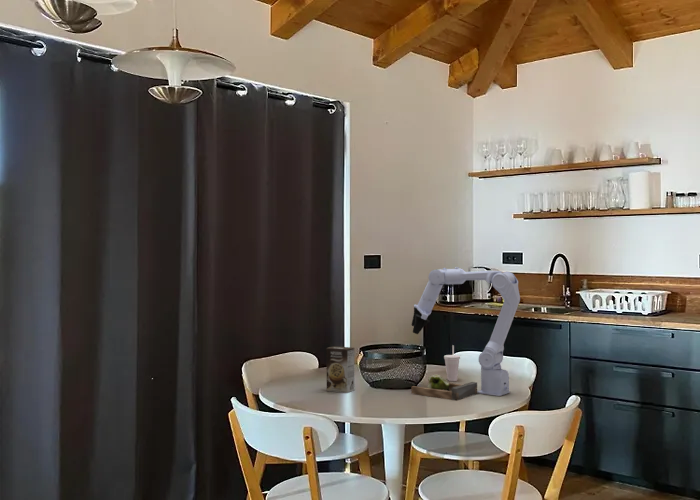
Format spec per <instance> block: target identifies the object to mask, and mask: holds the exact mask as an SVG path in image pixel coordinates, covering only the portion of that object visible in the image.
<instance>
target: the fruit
mask: <svg viewBox="0 0 700 500" xmlns="http://www.w3.org/2000/svg"><path fill="white" fill-rule="evenodd" d="M427 380H428V383H427V385H426V388H431V389H438V390H443V389H444V390H445V391H450V390H449V383H450V382H449V381H448V379H447V378H444V377H443V376H442V375H440V374H438V373H437V374H433V375H429V376H428V377H427Z"/></svg>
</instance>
